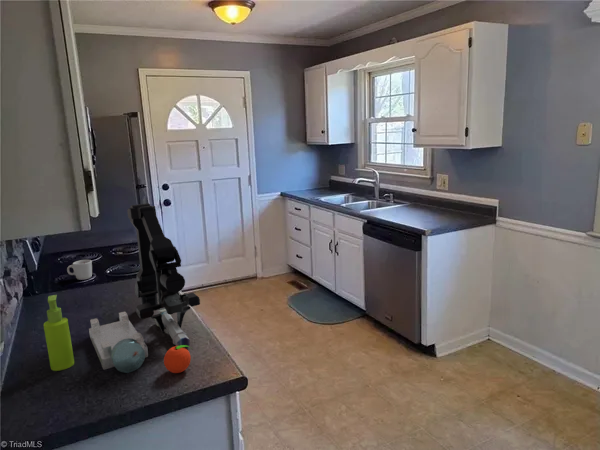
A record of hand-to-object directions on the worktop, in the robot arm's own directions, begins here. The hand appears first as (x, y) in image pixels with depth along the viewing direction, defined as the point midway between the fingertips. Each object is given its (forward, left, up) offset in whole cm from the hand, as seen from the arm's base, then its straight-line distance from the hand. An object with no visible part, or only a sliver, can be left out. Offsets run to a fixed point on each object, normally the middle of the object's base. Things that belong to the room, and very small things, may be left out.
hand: (171, 330), depth 138 cm
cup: (-87, -16, -2) cm, 89 cm away
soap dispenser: (0, -31, -2) cm, 31 cm away
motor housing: (+1, -16, -1) cm, 16 cm away
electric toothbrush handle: (0, 0, -2) cm, 2 cm away
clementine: (+24, -5, -2) cm, 24 cm away
